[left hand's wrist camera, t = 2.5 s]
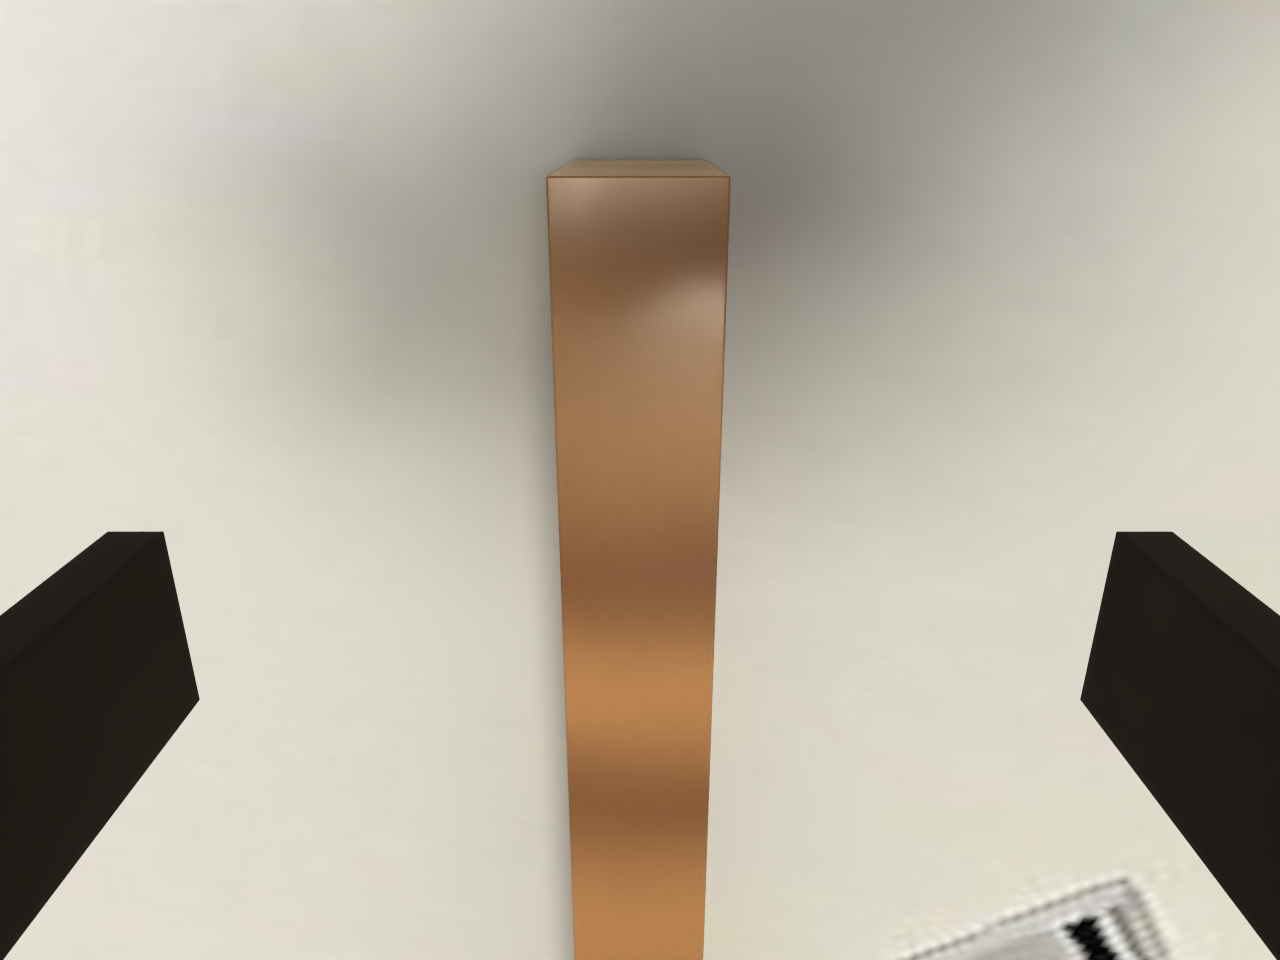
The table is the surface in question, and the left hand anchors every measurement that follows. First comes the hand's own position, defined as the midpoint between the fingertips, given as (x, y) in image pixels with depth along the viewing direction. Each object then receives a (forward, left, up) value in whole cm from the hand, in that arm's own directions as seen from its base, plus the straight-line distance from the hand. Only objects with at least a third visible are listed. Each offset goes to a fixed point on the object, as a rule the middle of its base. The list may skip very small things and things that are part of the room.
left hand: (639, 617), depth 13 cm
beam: (+12, +21, -21) cm, 32 cm away
